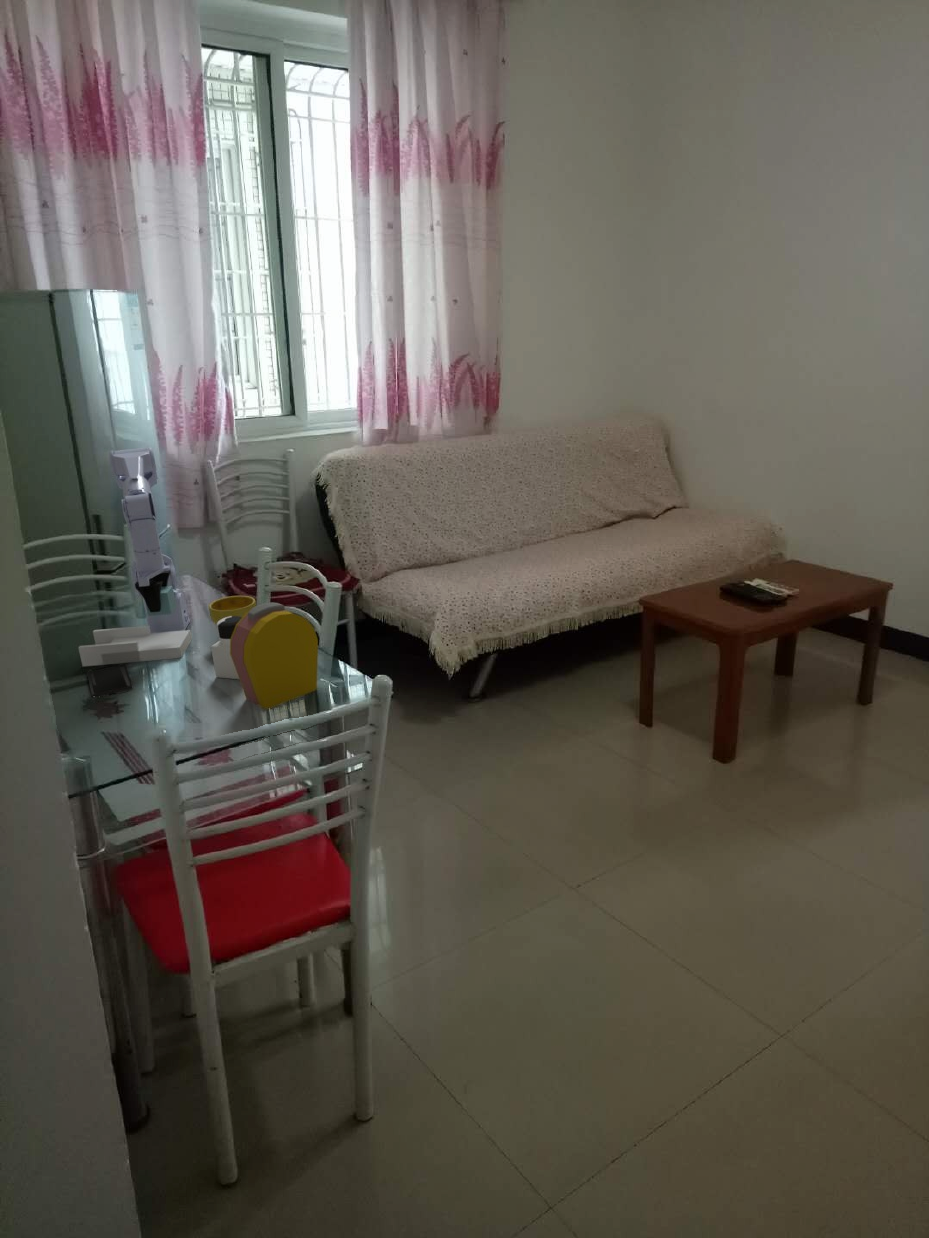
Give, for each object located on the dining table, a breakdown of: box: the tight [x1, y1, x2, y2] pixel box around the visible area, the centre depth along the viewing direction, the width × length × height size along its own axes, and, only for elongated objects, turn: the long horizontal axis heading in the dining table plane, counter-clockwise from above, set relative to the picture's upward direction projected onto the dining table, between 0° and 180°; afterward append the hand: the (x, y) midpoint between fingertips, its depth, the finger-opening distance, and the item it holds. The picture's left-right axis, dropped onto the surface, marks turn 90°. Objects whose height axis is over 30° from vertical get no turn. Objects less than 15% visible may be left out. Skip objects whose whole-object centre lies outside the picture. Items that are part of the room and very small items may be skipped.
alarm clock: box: [230, 601, 319, 711], centre depth 164 cm, size 15×8×18 cm, turn 133°
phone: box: [86, 663, 134, 698], centre depth 178 cm, size 8×1×15 cm
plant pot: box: [208, 595, 257, 628], centre depth 193 cm, size 10×10×10 cm
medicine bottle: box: [210, 616, 242, 680], centre depth 176 cm, size 7×7×12 cm
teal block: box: [146, 586, 176, 616], centre depth 189 cm, size 5×5×5 cm
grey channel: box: [78, 624, 193, 668], centre depth 192 cm, size 22×11×4 cm, turn 95°
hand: (158, 607), depth 189 cm, fingers closed on teal block, 5 cm apart
